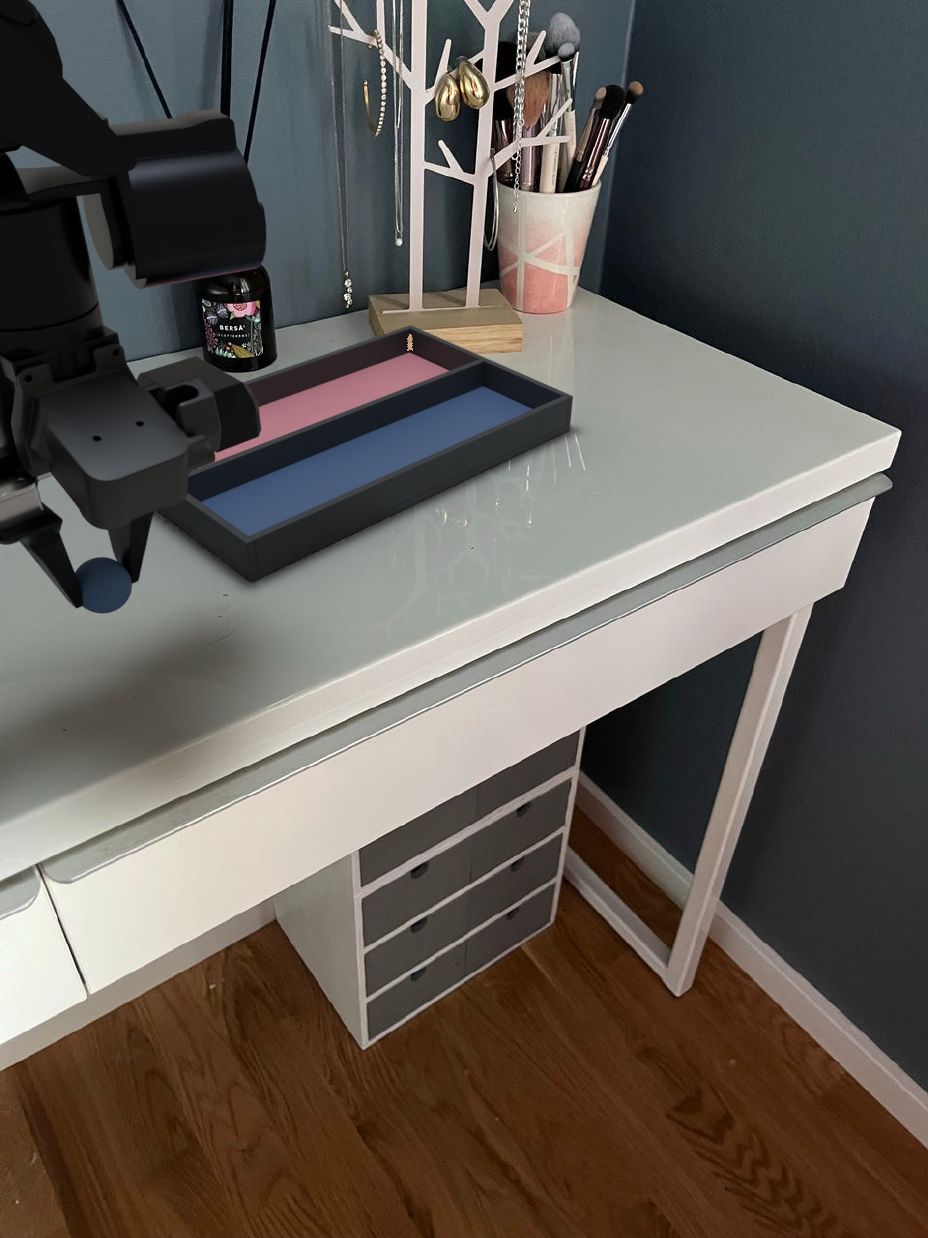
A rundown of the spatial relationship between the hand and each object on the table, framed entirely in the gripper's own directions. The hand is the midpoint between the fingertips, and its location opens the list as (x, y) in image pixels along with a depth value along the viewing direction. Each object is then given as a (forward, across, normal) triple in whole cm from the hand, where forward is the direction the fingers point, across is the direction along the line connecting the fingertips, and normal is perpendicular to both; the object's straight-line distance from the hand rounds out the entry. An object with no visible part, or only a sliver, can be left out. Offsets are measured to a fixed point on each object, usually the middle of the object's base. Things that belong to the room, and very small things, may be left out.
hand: (103, 592), depth 53 cm
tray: (+7, +27, +14) cm, 31 cm away
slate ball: (0, 0, 0) cm, 0 cm away
